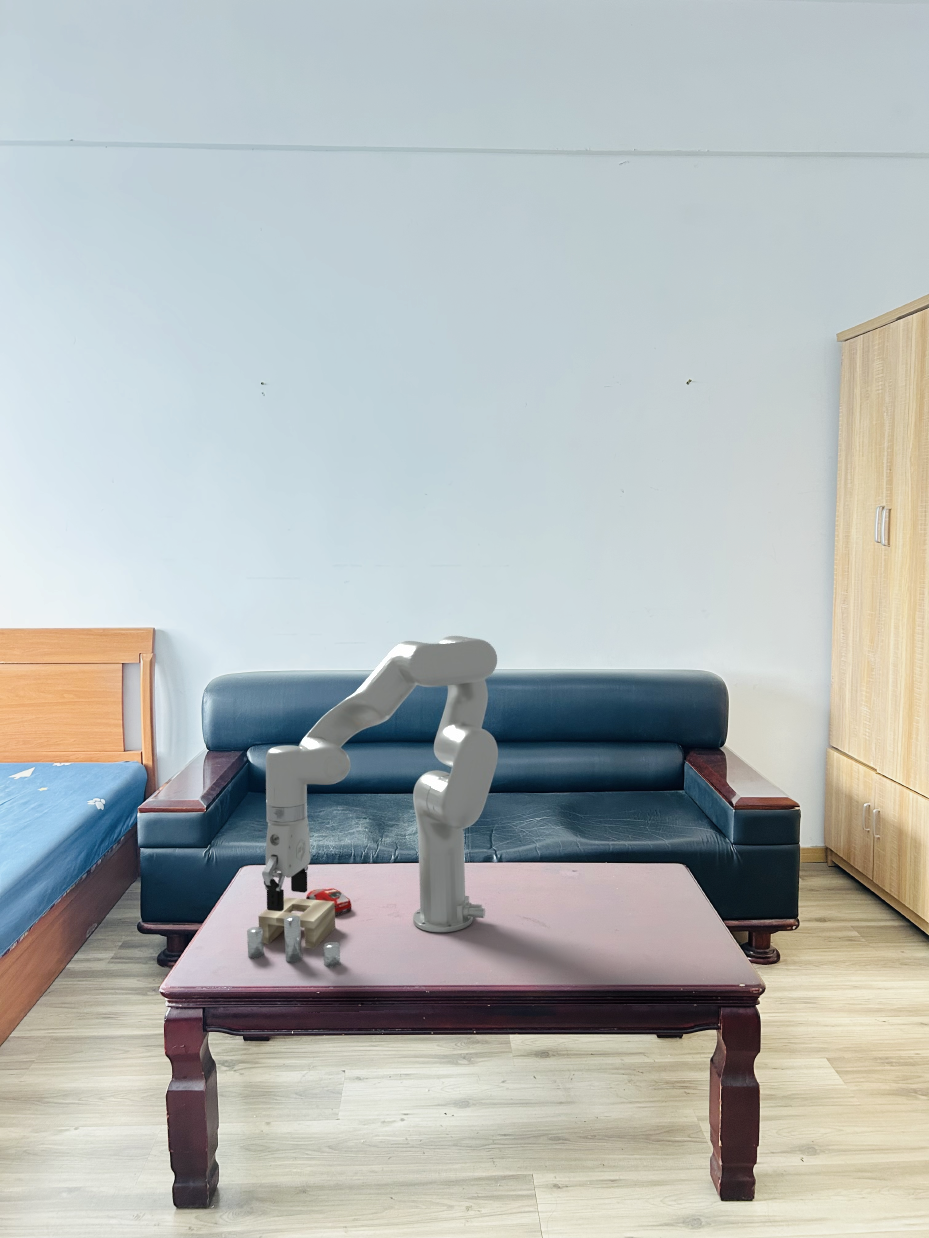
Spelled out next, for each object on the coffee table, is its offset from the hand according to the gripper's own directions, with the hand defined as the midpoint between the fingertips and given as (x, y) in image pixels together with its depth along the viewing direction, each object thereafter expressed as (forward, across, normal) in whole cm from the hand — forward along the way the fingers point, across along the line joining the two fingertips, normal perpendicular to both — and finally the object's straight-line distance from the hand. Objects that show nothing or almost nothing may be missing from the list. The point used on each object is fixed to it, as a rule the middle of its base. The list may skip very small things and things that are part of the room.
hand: (287, 900), depth 165 cm
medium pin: (+12, +1, +7) cm, 14 cm away
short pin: (+12, +1, -9) cm, 14 cm away
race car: (+12, +26, +3) cm, 29 cm away
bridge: (+12, +11, +3) cm, 16 cm away
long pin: (+12, +1, -1) cm, 12 cm away
